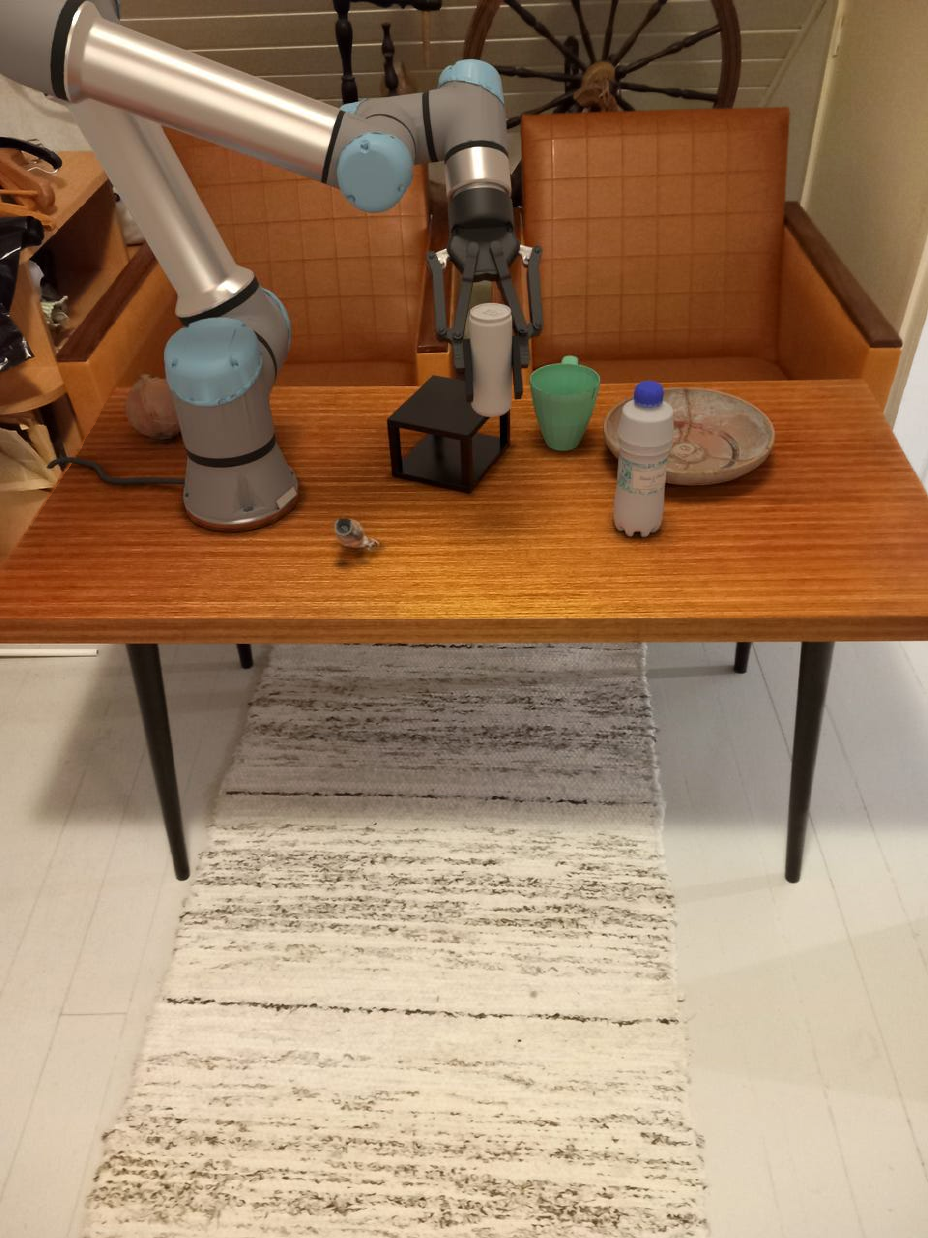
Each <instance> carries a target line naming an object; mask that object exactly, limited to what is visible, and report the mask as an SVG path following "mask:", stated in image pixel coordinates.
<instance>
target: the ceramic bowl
mask: <svg viewBox="0 0 928 1238" xmlns="http://www.w3.org/2000/svg"><path fill="white" fill-rule="evenodd" d="M663 390H664V396H663V401H664V402H666V403H668V404H669V405H670V406H671V407H672V409H673V416H674V438H673V440H672V441H673V445H672V447H671V449H670V450H669V455H668V464H667V472H666V481H665V484H672V485H677V486H708V485H714V484H720V483H721V484H722V483H725V482H729V481H732V480H735V479H737V478H740V477H743V476H744V475H745V476H746V475H747V474H748V473H750V472H752V471H754V470H755V469H757V468H758V467H760V466H761V465H762V464H763V463H764V462H765V461H766V460H767V459H768V457H769V455H770V454H771V452H772V450H773V447H774V446H775V440H776V431H775V427H774V424H773V422H772V421H771V420H770V419H771V418H769V416H767V415H766V413H765V412H763V411H762V410H761V409H759V407H757V406H755V405H754V404H753V403H751V402H749V401H747V400H745V399H743V398H741V397H738V396H736V395H733V394H731V393H727V392H724V391H720V390H715V389H710V388H705V387H695V386H694V387H692V386H691V387H690V386H689V387H687V386H676V387H675V386H674V387H663ZM631 400H634V394H632V395H630V396H628V397H626V398H624V399H622V400H621V401H619V402H617V403H616V404H615V405H613V406H612V407H611V409H610V410H609V411H608V412H607V414H606V415H605V417H604V420H603V424H602V434H603V435H602V436H603V439H604V442H605V444H606V446H607V448H608V449H609V451H610V452H611V453H612V455H613V456H614V457H615V458H616V459H617V460H619V449H620V448H619V446H618V443H617V439H618V433H617V430H618V427H619V423H620V418H621V414H622V409H623V407H624V405H625V404H626V403H628V402H629V401H631Z"/></svg>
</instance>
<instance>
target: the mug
mask: <svg viewBox="0 0 928 1238" xmlns="http://www.w3.org/2000/svg"><path fill="white" fill-rule="evenodd" d="M600 388H601V377H600V375H599V373H598V372H596V370H594V369H592V368H590V367H589V366H587V365H586V366H585V365H582V364H580V362H579V358H578V357H577V356H575V355H565V356H563V357H562V359H561V362H559V363H552V364H547V365H544V366H542V367H539V368H537V369H536V370H534V371H532V373H531V374H530V376H529V389H530V390H529V391H530V395H531V401H532V406H533V410H534V414H535V418H536V421H537V423H538V424H537V425H538V427H539V429H540V433H541V435H542V437H543V441H544V442H545V444H546V446H547V447H548V448H550V449H552V450H555V451H561V452H562V451H571V450H574V449H576V448H577V447H578V446H579V445H580V442H581V440H582V439H583V437H584V436H585V435H584V434H585V433H586V430H587V428H588V426H589V423H590V421H591V418H592V415H593V413H594V409H595V406H596V403H597V399H598V395H599V392H600Z"/></svg>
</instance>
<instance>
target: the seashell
mask: <svg viewBox="0 0 928 1238" xmlns="http://www.w3.org/2000/svg"><path fill="white" fill-rule="evenodd" d="M324 522H326V523H327V521H324ZM333 527H334V532H335V534H336V539H337V541H338V542H339V543H340V544H341V545H342V546H344V547H346V548H366V549H367V550H368V551H371V548H372V546H376V545H377V546H378V547H380V541H377V540H376V539H374V538H372V537H368V536H366V535H365V531H364V527H363V525H362V524H361V523H360V522H359V521H357V520H355V519H352V518H351V519H350V518H348V517H347V518H346V517H340V518H338V519H336V521H335V522H334V523H333ZM368 538H369V539H368Z"/></svg>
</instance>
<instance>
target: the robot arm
mask: <svg viewBox="0 0 928 1238" xmlns="http://www.w3.org/2000/svg"><path fill="white" fill-rule="evenodd" d="M0 75H1V76H3V77H5V78H6V79H9V80H11V81H13V82H15V83H17V84H18V85H21V86H24V87H27V88H30V89H31V90H34V91H37V92H40V93H42V94H43V95H44V98H46V100H47V101H51V102H53V103H56V104H58V105H61V106H63V107H64V108H66V109H67V110H68V112H69V113H70V115H71V117H72V119H73V120H74V122H75V124H76V125H77V127H78V129H79V130H80V132H81V134H82V135H83V138H84V139H85V141H86V142H87V144H88V146H89V147H90V149H91V150H92V153H93V154H94V156H95V157H96V159H97V161H98V163H99V164H100V166H101V168H102V169H103V171H104V173H105V174H106V176H107V177H108V179H109V181H110V183H111V184H112V186H113V188H114V190H115V191H116V193H117V194H118V196H119V198H120V200H121V201H122V203H123V205H124V207H125V208H126V209H127V212H128V213H129V215H130V217H131V218H132V220H133V222H134V224H135V225H136V227H137V229H138V230H139V232H140V233H141V235H142V237H143V239H144V241H145V242H146V244H147V245H148V247H149V248H150V250H151V253H152V254H153V255H154V257H155V259H156V260H157V262H158V264H159V266H160V267H161V269H162V271H163V272H164V274H165V276H166V277H167V279H168V281H169V283H170V284H171V286H172V288H173V289H174V291H175V292H176V295H177V300H176V304H175V310H174V313H175V316H176V318H177V319H178V321H179V322H180V324H181V326H182V327H181V328H180V329H178V330H177V331H176V332H175V333H174V334H172V335H171V336H170V338H169V339H168V341H167V342H166V345H165V347H164V352H163V360H164V371H165V379H166V380H167V382H168V385H169V387H170V390H171V394H172V398H173V402H174V406H175V410H176V414H177V418H178V422H179V426H180V430H181V432H180V433H181V437H182V441H183V445H184V449H185V453H186V458H187V460H186V468H185V476H184V478H180V477H179V478H177V477H151V476H150V477H148V476H147V477H143V476H142V477H123V478H121V477H115V476H110V475H107V473H106V472H105V471H104V468H103V467H102V466H101V465H100V464H99V463H97V462H95V461H92V460H89V459H84V458H79V457H75V456H74V457H73V456H63V457H57V458H55V459H52V460H51V461H50V462H49V463H48V464H47V466H46V469H48V470H52V469H54V468H55V467H56V466H58V465H60V464H76V465H81V466H85V467H88V468H93V469H94V470H95V471H96V472H97V474H98V475H99V477H100V478H101V479H102V480H103V481H105V482H107V483H109V484H115V485H136V484H158V485H162V484H163V485H182V486H183V485H184V486H183V494H182V500H183V503H184V508H185V512H186V514H187V517H188V518H189V519H190V520H191V521H192V522H193V523H195V524H196V525H197V526H200V527H202V528H204V529H208V530H211V531H216V532H217V531H218V532H229V533H230V532H244V531H250V530H255V529H259V528H262V527H265V526H268V525H270V524H273V523H274V522H277V521H278V520H280V519H282V518H283V517H285V516H287V514H289V513H290V512H291V511H292V510H293V509H294V508H295V507H296V505H297V503H298V500H299V498H300V489H299V484H298V478H297V476H296V474H295V472H294V471H293V469H292V468H291V467H290V466H289V465H288V462H287V460H286V458H285V455H284V453H283V452H282V449H281V448H280V445H279V444H278V442H277V437H276V432H275V425H274V420H273V414H272V409H271V401H270V397H271V396H270V395H271V392H272V390H273V388H274V385H275V383H276V381H277V378H278V376H279V374H280V371H281V369H282V367H283V365H284V363H285V362H286V360H287V357H288V353H289V352H290V348H291V339H292V325H291V321H290V320H291V319H290V317H289V314H288V312H287V310H286V307H285V305H284V304H283V302H282V301H281V300H280V299H279V298H278V297H277V295H275V293H273V292H272V291H271V290H269V289H266V288H264V287H262V286H261V283H260V282H259V280H258V278H257V277H256V275H255V272H253V270H252V269H250V268H247V267H244V266H241V265H238V264H237V263H236V261H235V259H234V258H233V256H232V254H231V253H230V251H229V249H228V247H227V245H226V243H225V241H224V239H223V237H222V236H221V234H220V232H219V230H218V229H217V227H216V225H215V223H214V221H213V219H212V217H211V216H210V214H209V212H208V210H207V209H206V207H205V204H204V203H203V201H202V200H201V197H200V196H199V194H198V192H197V190H196V188H195V186H194V185H193V183H192V181H191V179H190V177H189V175H188V173H187V172H186V169H185V168H184V165H183V164H182V163H181V161H180V159H179V157H178V155H177V153H176V152H175V151H176V150H175V148H174V147H173V145H172V144H171V142H170V140H169V138H168V137H167V135H166V133H165V131H164V129H163V127H162V126H164V127H166V128H170V129H173V130H175V131H179V132H180V133H184V134H186V135H189V136H192V137H194V138H197V139H200V140H203V141H205V142H209V143H212V144H214V145H217V146H219V147H222V148H224V149H228V150H230V151H233V152H235V153H238V154H242V155H244V156H246V157H250V158H252V159H254V160H257V161H261V162H264V163H267V164H269V165H272V166H274V167H277V168H280V169H283V170H285V171H288V172H291V173H294V174H297V175H298V176H302V177H305V178H307V179H310V180H313V181H316V182H318V183H322V184H324V185H327V186H330V187H331V188H334V189H336V190H340V192H341V194H342V195H343V197H344V198H345V199H346V200H347V202H348V203H350V204H351V206H353V207H354V208H356V209H357V210H359V211H362V212H365V213H369V214H370V213H372V214H378V213H379V214H380V213H384V212H387V211H389V210H391V209H392V208H394V207H395V206H397V205H398V203H400V201H401V200H402V199H403V197H404V195H405V194H406V192H407V190H408V188H409V187H410V186H411V184H412V181H413V177H414V166H418V165H426V164H432V163H439V162H444V179H445V193H446V200H447V203H448V204H447V219H448V220H447V221H448V233H449V234H448V235H449V240H448V242H447V243H446V248H445V249H441V250H439V251H437V252H436V251H434V250H428V251H427V253H426V254H425V265H426V269H427V271H428V273H429V276H430V278H431V280H432V295H433V310H434V326H435V327H434V328H435V338H436V341H437V342H438V343H447V344H449V345H450V346H451V348H452V358H453V369H454V372H455V373H463V375H464V377H463V378H464V381H465V391H466V403H467V402H473V397H474V391H473V377H472V363H471V350H470V338H464V337H465V336H464V335H465V330H466V325H467V321H468V314H469V308H470V303H471V298H472V292H473V286H474V284H476V283H480V282H483V281H487V282H491V283H493V282H494V283H495V284H496V287H497V290H498V291H499V294H500V296H501V299H502V302H503V305H506V306H508V307H509V308H510V309H511V315H512V332H513V334H514V335H512V387H513V398H514V400H522V397H523V394H524V386H523V383H524V382H523V372H522V371H523V370H524V369H525V370H526V369H528V368H529V365H530V361H531V353H530V339H532V338H534V337H536V338H537V337H540V336H541V334H542V332H543V328H544V325H545V323H544V313H543V312H544V311H543V301H542V289H541V278H540V277H541V276H540V264H541V258H542V255H543V247H542V245H539V244H535V245H534V246H532V247H530V246H527V245H524V244H521V242H520V240H519V238H518V237H517V235H516V231H515V218H514V205H513V200H512V198H511V197H512V180H511V171H510V169H511V168H510V160H509V142H508V130H507V113H506V106H505V96H504V90H503V89H504V88H503V82H502V81H503V80H502V79H501V76H500V74H499V72H498V70H497V69H496V68H495V67H494V66H493V65H492V64H490V63H489V62H486V61H484V60H480V59H474V58H468V59H461V60H457V61H455V64H453V65H447V66H446V67H445V68H444V69H443V70H442V72H441V73H440V75H439V77H438V85H437V88H435V89H429V90H428V91H423V92H415V93H407V94H401V95H393V96H386V97H379V98H378V97H377V98H368V97H367V98H363V99H361V100H360V101H355V102H351V103H345V104H343V105H341V106H340V107H339V108H338V107H336V106H333V105H331V104H328V103H325V102H323V101H321V100H317V99H316V98H313V97H309V96H307V95H304V94H302V93H299V92H297V91H293V90H291V89H289V88H286V87H284V86H281V85H278V84H276V83H273V82H271V81H268V80H265V79H263V78H261V77H258V76H255V75H252V74H249V73H247V72H244V71H242V70H240V69H237V68H234V67H231V66H230V65H226V64H224V63H221V62H218V61H215V60H213V59H210V58H207V57H205V56H202V55H199V54H198V53H194V52H192V51H189V50H186V49H184V48H181V47H179V46H177V45H174V44H171V43H169V42H165V41H164V40H160V39H157V38H155V37H152V36H150V35H147V34H144V33H142V32H139V31H137V30H134V29H131V28H129V27H126V26H124V25H122V23H121V2H120V0H0ZM517 257H519V258H520V260H521V266H522V267H523V268H525V269H526V276H525V278H526V280H525V281H526V290H527V300H528V302H527V303H528V312H529V314H528V315H529V323H527V321H526V318H525V315H524V313H523V310H522V307H521V303H520V301H519V298H518V295H517V292H516V288H515V286H514V282H513V281H512V277H511V276H512V275H511V271H510V268H512V265H513V264H514V263H515V260H516V259H517ZM448 261H449V262H451V264H452V265H453V266H454V267H455V268H456V270H458V272H459V273H460V275H462V278H461V285H460V290H459V295H458V300H457V305H456V311H455V316H454V323H453V326H452V327H448V326H447V313H446V312H447V311H446V295H445V283H444V272H446V271H447V266H448V265H447V263H448Z"/></svg>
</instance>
